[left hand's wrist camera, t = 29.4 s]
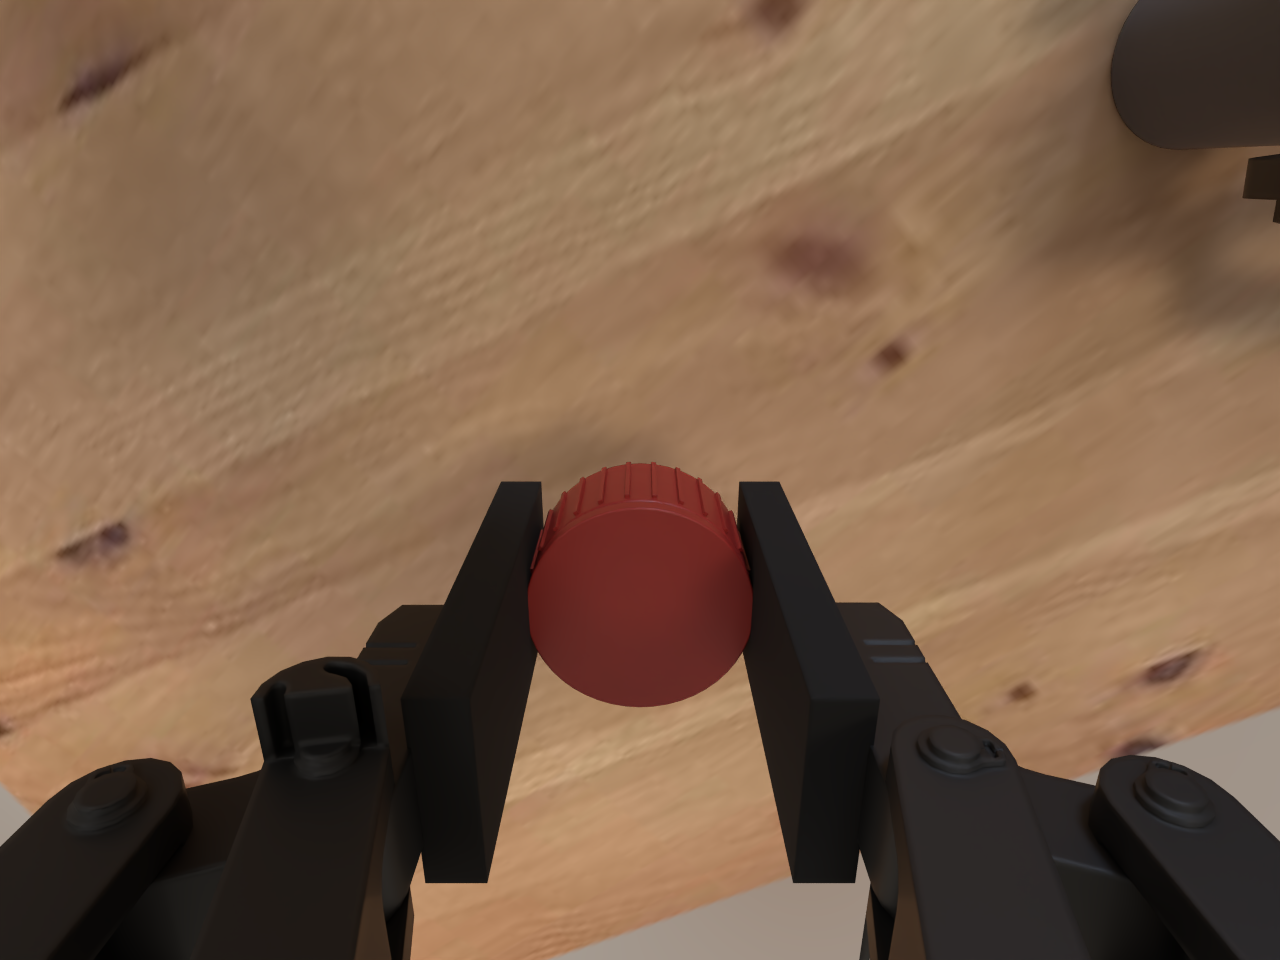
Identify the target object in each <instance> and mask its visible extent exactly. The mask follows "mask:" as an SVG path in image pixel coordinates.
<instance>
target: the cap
mask: <svg viewBox="0 0 1280 960" xmlns="http://www.w3.org/2000/svg"><path fill="white" fill-rule="evenodd" d="M530 570H531V573H532V574H531V577H530V581H529V584H528V608H529V624H530V635H531V638H532V640H533V643H534V645H535V647H536V649H537V651H538V652H539V654H540V656H541V657H542V659H543V660H544V662H545V663H546V664H547V665H548V666H549V668H550V669H551V670H552V671H553V672H554V673H555V674H556V675H557V676H558V677H559V678H560V679H561V680H563V681H564V682H565V683H567V684H568V685H570V686H571V687H572V688H574V689H576V690H578V691H579V692H581V693H583V694H585V695H587V696H589V697H592V698H594V699H597V700H600V701H603V702H607V703H610V704H615V705H621V706H629V707H653V706H660V705H666V704H671V703H674V702H678V701H681V700H684V699H686V698H689V697H692V696H694V695H696V694H698V693H700V692H701V691H703V690H705V689H707V688H708V687H710V686H711V685H713V684H714V683H715V682H717V681H718V680H719V679H720V678H721V677H723V676H724V675H725V674H726V673H727V672H728V671H729V670H730V668H731V667H732V666H733V665H734V664H735V663H736V661H737V660H738V658H739V657H740V655H741V653H742V652H743V650H744V648H745V646H746V644H747V642H748V640H749V637H750V633H751V618H752V602H753V587H752V583H751V580H750V576H749V574H750V568H749V564H748V560H747V557H746V553H745V550H744V546H743V543H742V539H741V536H740V532H739V531H738V529H737V525H736V521H735V518H734V514H733V512H732V510H731V511H728V509H727V508H726V506H725V505H724V503H723V502H722V501H721V497H720V494H719V493H718V492H717V493H714V492H713V491H712V490H711V489H709V488H708V487H707V486H706V485H705V484H703V483H702V479H700V478H698V479H696V478H694V477H692V476H690V475H688V474H686V473H684V472H682V471H680V468H677V467H676V468H675V469H673V468H670V467H666V466H661V465H656V463H655V462H651V464H642V463H640V464H631V462H626V465H620V466H615V467H611V468H608V469H607V468H606V467H604V468H602V471H599V472H597V473H595V474H593V475H591V476H589V477H587V478H584V477H582V478H581V479H580V482H579V483H577V484H576V485H575V486H574V487H573V488H571V489H570V490H569V491H568V492H567V493H566V492H565V491H564V492H563V493H562V495H561V499H560V501H559V502H558V503H557V505H556V506H555V508H554V509H553V510H551V509H550V510H549V512H548V515H547V518H546V522H545V525H544V529H543V530H542V529H541V533H540V536H539V540H538V543H537V547H536V550H535V554H534V557H533V561H532V564H531V568H530Z"/></svg>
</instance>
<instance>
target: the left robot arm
mask: <svg viewBox="0 0 1280 960" xmlns="http://www.w3.org/2000/svg"><path fill="white" fill-rule="evenodd" d="M541 529H542V530H543V529H544V528H543V508H542V488H541V482H501V483H500V486H499V488H498V490H497V492H496V494H495V496H494V498H493V501H492V503H491V505H490V507H489V509H488V511H487V513H486V516H485V518H484V520H483V522H482V524H481V526H480V529H479V531H478V533H477V535H476V537H475V539H474V541H473V544H472V546H471V548H470V550H469V552H468V554H467V556H466V559H465V561H464V563H463V565H462V567H461V569H460V572H459V574H458V576H457V578H456V580H455V582H454V584H453V587H452V589H451V591H450V593H449V595H448V597H447V599H446V602H445V604H444V605H402V606H400V607H399V608H398V609H396V610H395V611H394V612H392V613H391V614H390V615H388V616H387V617H386V618H384V619H383V620H382V621H380V622H379V623H378V624H377V626H376V628H375V629H374V631H373V633H372V635H371V636H370V638H369V640H368V641H367V643H366V648H363V650H362V651H361V653H360V655H359V656H358V658H357V659H356V658H352V657H324V658H319V659H314V660H310V661H305V662H302V663H299V664H297V665H294V666H292V667H289V668H287V669H285V670H282V671H280V672H279V673H277V674H276V675H274V676H273V677H271V678H270V679H268V680H267V681H266V682H264V683H263V684H261V686H260V687H259V688H258V690H257V691H256V692H255V694H254V695H253V696H252V698H251V704H252V708H253V713H254V717H255V722H256V726H257V731H258V735H259V740H260V744H261V749H262V753H263V758H264V763H263V766H262V769H261V770H259V771H257V772H253V773H250V774H246V775H243V776H240V777H236V778H231V779H227V780H223V781H218V782H214V783H209V784H205V785H200V786H196V787H191V788H187V789H186V788H185V784H184V780H183V777H182V773H181V771H180V770H178V769H177V768H176V767H175V766H174V765H173V764H172V763H171V762H167V761H163V760H158V759H153V758H147V759H136V760H126V761H123V762H119V763H116V764H113V765H109V766H106V767H103V768H100V769H97V770H95V771H93V772H91V773H89V774H87V775H85V776H83V777H81V778H79V779H77V780H75V781H73V782H71V783H70V784H68V785H67V786H66V787H65V788H63V789H62V790H61V791H59V792H58V793H57V794H56V795H54V796H53V797H52V798H50V799H49V800H48V801H47V802H46V803H45V804H44V805H43V806H42V807H41V808H40V809H39V810H37V811H36V812H35V813H34V814H33V815H32V816H31V817H30V818H29V819H28V820H27V821H26V822H25V823H24V824H23V825H22V826H21V827H20V828H19V829H18V830H17V831H16V832H15V833H14V834H13V835H12V836H11V837H10V838H9V839H8V840H7V841H6V842H5V843H4V844H3V845H2V846H1V847H0V960H410V955H411V945H412V934H413V923H414V911H413V904H412V897H411V891H410V884H411V881H412V878H413V875H414V872H415V869H416V866H417V863H418V860H419V857H420V854H422V861H423V869H424V876H425V883H487V882H488V877H489V873H490V868H491V864H492V859H493V854H494V850H495V845H496V841H497V836H498V831H499V827H500V822H501V818H502V813H503V809H504V804H505V799H506V795H507V790H508V786H509V781H510V776H511V772H512V767H513V763H514V758H515V754H516V749H517V744H518V740H519V735H520V731H521V726H522V721H523V717H524V712H525V708H526V703H527V699H528V694H529V689H530V685H531V680H532V676H533V671H534V666H535V662H536V657H537V653H538V651H537V649H536V647H535V645H534V643H533V640H532V638H531V635H530V624H529V608H528V584H529V581H530V577H531V574H532V573H531V570H530V568H531V564H532V561H533V557H534V554H535V550H536V547H537V543H538V540H539V536H540V533H541ZM737 529H738V531H739V532H740V536H741V539H742V543H743V546H744V550H745V553H746V557H747V560H748V564H749V568H750V574H749V576H750V580H751V583H752V587H753V602H752V618H751V633H750V637H749V640H748V642H747V644H746V646H745V648H744V650H743V655H744V660H745V664H746V669H747V673H748V678H749V683H750V687H751V692H752V696H753V701H754V705H755V710H756V715H757V719H758V724H759V728H760V733H761V738H762V742H763V747H764V751H765V756H766V760H767V765H768V770H769V774H770V779H771V783H772V788H773V793H774V797H775V802H776V806H777V811H778V815H779V820H780V825H781V829H782V834H783V838H784V843H785V848H786V852H787V857H788V861H789V866H790V870H791V875H792V880H793V883H855V879H856V872H857V865H858V857H859V850H860V851H861V854H862V857H863V860H864V863H865V866H866V870H867V873H868V876H869V879H870V881H871V884H870V891H869V898H868V904H867V911H866V918H865V925H864V932H863V938H862V945H861V952H860V959H859V960H869V959H870V960H1280V841H1279V840H1278V839H1277V838H1276V837H1275V836H1274V835H1273V834H1272V833H1271V832H1270V831H1268V830H1267V829H1266V828H1265V827H1264V826H1263V825H1262V824H1261V823H1260V822H1259V821H1258V820H1257V819H1256V818H1255V817H1254V816H1253V815H1252V814H1251V813H1250V812H1249V811H1248V810H1247V809H1246V808H1245V807H1244V806H1243V805H1242V804H1241V803H1239V802H1238V801H1237V800H1236V799H1235V798H1234V797H1233V796H1232V795H1230V794H1229V793H1228V792H1227V791H1225V790H1224V789H1223V788H1221V787H1220V786H1219V785H1217V784H1216V783H1215V782H1213V781H1212V780H1211V779H1209V778H1207V777H1205V776H1203V775H1201V774H1199V773H1197V772H1195V771H1193V770H1191V769H1189V768H1187V767H1185V766H1182V765H1179V764H1176V763H1173V762H1169V761H1166V760H1163V759H1160V758H1156V757H1147V756H1136V755H1128V756H1123V757H1118V758H1113V759H1111V760H1109V761H1108V762H1107V763H1106V764H1105V765H1104V766H1103V767H1102V768H1101V769H1100V772H1099V775H1098V779H1097V783H1096V786H1094V785H1090V784H1085V783H1081V782H1076V781H1072V780H1068V779H1063V778H1059V777H1054V776H1050V775H1045V774H1041V773H1038V772H1035V771H1031V770H1028V769H1024V768H1022V767H1020V766H1018V765H1017V762H1016V760H1015V758H1014V757H1013V755H1012V754H1011V752H1010V751H1009V749H1008V748H1007V746H1006V745H1005V744H1004V743H1003V742H1002V741H1000V740H999V739H998V738H997V737H995V736H994V735H993V734H992V733H990V732H989V731H988V730H986V729H984V728H981V727H979V726H977V725H975V724H973V723H971V722H968V721H966V720H963V719H961V717H960V716H959V714H958V712H957V711H956V709H955V707H954V706H953V704H952V702H951V701H950V699H949V697H948V696H947V694H946V692H945V691H944V689H943V687H942V686H941V684H940V682H939V681H938V679H937V677H936V676H935V674H934V672H933V671H932V669H931V667H930V666H929V664H928V663H925V657H924V656H923V654H922V652H921V651H920V649H919V647H918V646H917V645H915V641H914V639H913V637H912V636H911V634H910V632H909V631H908V629H907V627H906V626H905V624H904V622H903V621H902V620H901V619H900V618H898V617H897V616H896V615H894V614H893V613H892V612H890V611H889V610H888V609H886V608H885V607H884V606H882V605H881V604H880V603H835V600H834V598H833V596H832V594H831V592H830V590H829V588H828V585H827V583H826V581H825V579H824V577H823V575H822V573H821V570H820V568H819V566H818V564H817V562H816V560H815V557H814V555H813V553H812V551H811V549H810V547H809V545H808V542H807V540H806V538H805V536H804V534H803V532H802V530H801V527H800V525H799V523H798V521H797V519H796V517H795V515H794V512H793V510H792V508H791V506H790V504H789V502H788V499H787V497H786V495H785V493H784V491H783V489H782V487H781V484H780V482H739V498H738V518H737Z"/></svg>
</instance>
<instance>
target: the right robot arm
mask: <svg viewBox="0 0 1280 960" xmlns="http://www.w3.org/2000/svg"><path fill="white" fill-rule="evenodd" d="M1243 198H1247V199H1270V200H1276V206H1275V212H1274V218H1273V222H1275V223H1279V224H1280V154H1277V155H1269V156H1262V157H1255V158H1250V159H1248V166H1247V172H1246V179H1245V185H1244V192H1243Z"/></svg>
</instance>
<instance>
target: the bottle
mask: <svg viewBox="0 0 1280 960" xmlns="http://www.w3.org/2000/svg"><path fill="white" fill-rule="evenodd" d="M1111 83H1112V91H1113V97H1114V101H1115V104H1116V107H1117V109H1118V112H1119V114H1120V116H1121V118H1122V119H1123V121H1124V122H1125V124H1126V125H1127V126H1128V127H1129V128H1130V130H1131V131H1132V132H1133V133H1134V134H1136V135H1137V136H1138V137H1140V138H1141V139H1142V140H1144V141H1146V142H1148V143H1150V144H1152V145H1155V146H1158V147H1161V148H1167V149H1204V148H1228V147H1252V146H1276V145H1280V0H1139V1H1138V2H1137V4H1136V5H1135V7H1134V8H1133V9H1132V11H1131V13H1130V14H1129V16H1128V18H1127V20H1126V21H1125V23H1124V26H1123V28H1122V30H1121V32H1120V35H1119V37H1118V41H1117V44H1116V47H1115V51H1114V56H1113V60H1112V70H1111Z"/></svg>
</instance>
